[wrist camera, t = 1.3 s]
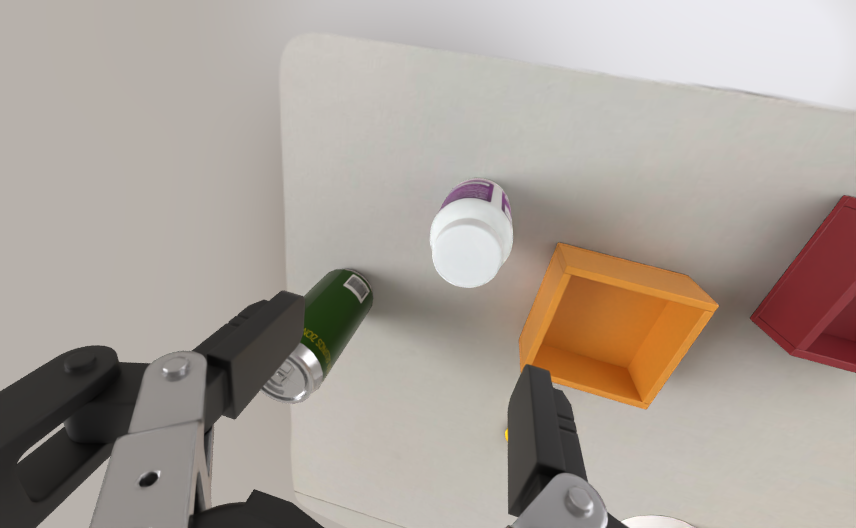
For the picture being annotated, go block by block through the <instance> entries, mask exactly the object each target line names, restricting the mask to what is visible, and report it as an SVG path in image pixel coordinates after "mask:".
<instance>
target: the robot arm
mask: <svg viewBox="0 0 856 528" xmlns="http://www.w3.org/2000/svg"><path fill="white" fill-rule="evenodd" d="M304 313H305V298H304V297H303V296H301V295H297V294H294V293H291V292H287V291H281V292H279V293H278V294H277V295H276V296H274V297H273V298H272V299H271V300H270V301H267V300H262V301H259V302H257V303H254V304H252V305H250V306H248V307H247V308H245V309H244V310H243V311H242V312H240V313H239V314H238V316H235V317H234V318H233V319H231V320H230V321H229V323H228V324H225V325H224V326H223V327H221V328H220V329H219V330H218V331H216V332H215V333H214V334H212V335H211V336H210V337H209V338H207V339H206V340H205V341H204V342H202V343H201V344H200V345H199V346H197V347H196V348H195V349H194V350H192V351H178V352H173V353H169V354H167V355H164V356H162V357H160V358H158V359H156V360H155V361H153V362H152V363H149V364H148V363H126V362H119V361H118V357H117V354H116V352H115V351H114V350H113V349H112V348H110V347H106V346H86V347H81V348H77V349H74V350H71V351H68V352H66V353H63V354H61V355H59V356H58V357H56V358H54V359H53V360H51V361H49V362H48V363H46V364H45V365H43V366H41V367H39V368H38V369H36V370H35V371H33V372H31V373H30V374H28V375H26V376H25V377H23V378H21V379H20V380H18V381H17V382H15V383H13V384H12V385H10V386H8V387H7V388H5V389H3V390H2V391H0V528H36V527H37V526H38V525H39V524H40V523H41V522H42V521H43V520H44V519H45V518H46V517H47V516H48V515H49V514H50V513H52V512H53V511H54V510H55V509H56V508H57V507H58V506H59V505H60V504H61V503H62V502H63V501H64V500H65V499H66V498H67V497H68V496H69V495H70V494H71V493H72V492H73V491H74V490H75V489H76V488H77V487H78V486H80V484H82V483H83V482H84V480H86V479H87V478H88V477H89V476H90V475H91V474H92V473H93V472H94V471H95V470H96V469H97V468H98V467H99V466H100V465H101V464H102V463H103V462H104V461H105V460H106V459H108V458H109V457H110V456H111V457H110V460H109V463H108V467H107V470H106V473H105V477H104V480H103V483H102V487H101V490H100V494H99V497H98V500H97V503H96V507H95V510H94V513H93V517H92V520H91V523H90V527H89V528H324V527H322V526H321V525H320V524H319V523H317V522H316V521H315V520H313V519H312V518H311V517H310V516H308V515H307V514H306V513H305V512H303V511H302V510H301V509H299V508H298V507H297V506H296V505H294V504H293V503H291V502H289V501H286V500H283V499H280V498H277V497H275V496H272V495H269V494H266V493H263V492H260V491H258V490H255V489H254V490H253V492H252V493H251V495H250V496H249V498H248V499H247V501H246V502H238V503H229V504H224V505H219V506H216V507H213V508H212V507H211V506H212V505H211V476H212V457H213V440H214V423H215V422H216V421H217V420H218V419H219V418H220V417H221V415H223V416H226V417H229V418H232V419H236V418H237V417H238V415H239V414H240V413H241V412H242V411H243V409H244V408H245V407H246V406H247V405H248V404H249V403H250V401H251V400H252V399H253V398H254V397H255V396H256V394H257V393H258V392H259V391H260V390H261V388H262V387H263V386H264V385H265V384H266V383H267V381H268V380H269V379H270V378H271V377H272V376H273V374H274V373H275V372H276V371H277V370H278V369H279V367H280V366H281V365H282V364H283V363H284V362H285V360H286V359H287V358H288V357H289V356H290V354H291V353H292V352H293V351H294V350H295V349H296V347H297V346H298V344H299V343H300V341H301V338H302V335H303V331H304ZM61 423H64V426H65V427H63V428H62V429H61V430H60V431H58V432H57V433H56V434H54V435H53V436H52V437H51V438H49V439H48V440H47V441H46V442H44V443H43V444H42V445H41V446H40V447H38V448H37V449H36V450H34V451H33V452H32V453H30V454H29V455H28V456H27V457H25V458H24V459H23V460H21V461H20V462H19V463H18V464H17V462H18V461H19V459H20V457H21V456H22V455H23V454H24V453H25V452H26V451H27V450H28V449H29V448H30V447H32V446H33V445H34V444H35V443H36V442H38V441H39V440H41V439H42V438H43V437H45V436H46V435H47V434H48V433H50V432H51V431H52V430H53V429H55V428H56V427H57V426H59V425H60V424H61ZM576 432H577V430H576V425H575V422H574V416H573V411H572V407H571V404H570V402H569V401H568V399H567V398H566V396H565V395H564V393H563V391H561V390H558V389H555V388H553V386H552V380H551V374H550V371H549V370H546V369H543V368H539V367H536V366H532V365H529V364H526V365H525V366H524V368H523V370H522V373H521V375H520V377H519V379H518V382H517V384H516V386H515V388H514V391H513V393H512V395H511V398H510V402H509V406H508V514H510V515H513V516H516V517H518V519H517V520H516V521H515V522H514V523H513V524H512V525H511V526H510V525H508V526H507V527H506V528H629V527H628V526H626V525H625V524H623V523H621V522H620V521H618V520H617V519H616V518H614V517H613V516H612V515H611V514H609V513H608V512H607V509H606V507H605V504H604V502H603V500H602V498H601V497H600V495H599V494H598V492H597V491H596V490H595V489H594V488H593V487H592V486H591V485H590V484H589V483H588V480H587V476H586V471H585V467H584V462H583V457H582V453H581V448H580V444H579V439H578V434H576Z"/></svg>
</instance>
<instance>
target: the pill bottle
mask: <svg viewBox="0 0 856 528" xmlns="http://www.w3.org/2000/svg"><path fill="white" fill-rule="evenodd" d="M430 244H431V248H432V251H433V253H432V256H433V263H434V266H435V268H436V270H437V272H438V273H439V274H440V276H441V277H442V278H444V279H445V280H446V281H447V282H449V283H451V284H453V285H455V286H458V287H463V288H473V287H478V286H481V285H484V284H486V283H487V282H489V281H490V280H491V279H492V278H493V277H495V275H496V274H497V272H498V271H499V268H500V267H501V266H502V265H503V264H504V262H505V261H506V260H507V258H508V256H509V254H510V252H511V249H512V244H513V229H512V216H511V207H510V202H509V199H508V197H507V195H506V193H505V192H504V190H503V189H502V188H501V187H500V186H499V185H497V184H496V183H494V182H493V181H490V180H487V179H483V178H472V179H468V180H465V181H463V182H461V183H459V184H458V185H456V186H455V187H454V188H453V189H452V190H451V191H450V193H449V194H448V196H447V197H446V199H445V201H444V203H443V204H442V206H441V208H440V210H439V212H438V213H437V215H436V216H435V218H434V220H433V223H432V226H431V231H430Z"/></svg>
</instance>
